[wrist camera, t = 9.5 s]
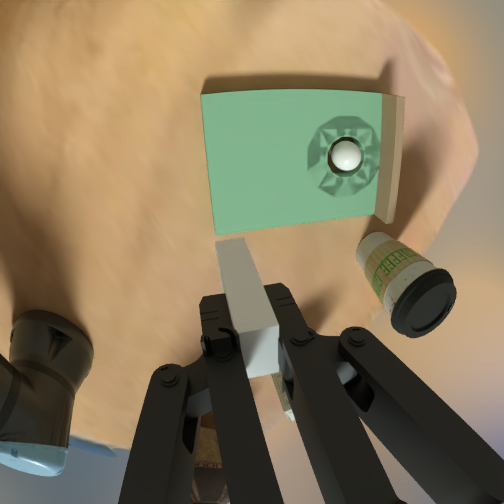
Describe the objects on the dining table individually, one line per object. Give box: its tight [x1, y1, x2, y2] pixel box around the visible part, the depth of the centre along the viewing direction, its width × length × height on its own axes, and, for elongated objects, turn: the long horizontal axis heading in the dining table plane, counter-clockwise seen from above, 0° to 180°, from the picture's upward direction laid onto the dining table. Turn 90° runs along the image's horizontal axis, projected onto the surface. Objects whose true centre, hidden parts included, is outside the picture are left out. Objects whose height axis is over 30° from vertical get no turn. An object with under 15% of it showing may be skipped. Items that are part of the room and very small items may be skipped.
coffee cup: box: [356, 231, 457, 338], centre depth 38 cm, size 10×10×15 cm
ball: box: [331, 141, 361, 171], centre depth 34 cm, size 4×4×4 cm
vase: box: [190, 427, 230, 504], centre depth 47 cm, size 23×19×30 cm
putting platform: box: [200, 89, 405, 236], centre depth 33 cm, size 22×16×5 cm
